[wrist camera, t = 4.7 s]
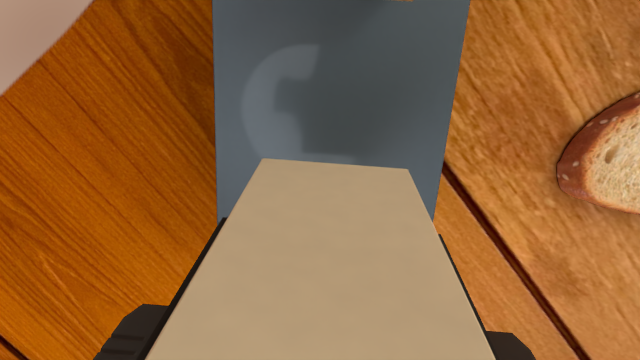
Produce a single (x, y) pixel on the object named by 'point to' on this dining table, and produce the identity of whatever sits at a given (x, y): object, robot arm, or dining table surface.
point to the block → (325, 275)
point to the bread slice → (606, 159)
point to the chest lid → (334, 86)
